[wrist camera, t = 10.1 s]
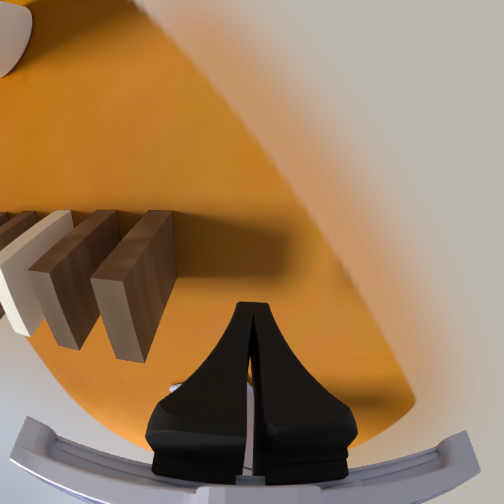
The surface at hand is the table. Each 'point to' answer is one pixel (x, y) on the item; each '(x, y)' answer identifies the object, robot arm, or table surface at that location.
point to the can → (13, 34)
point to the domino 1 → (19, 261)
